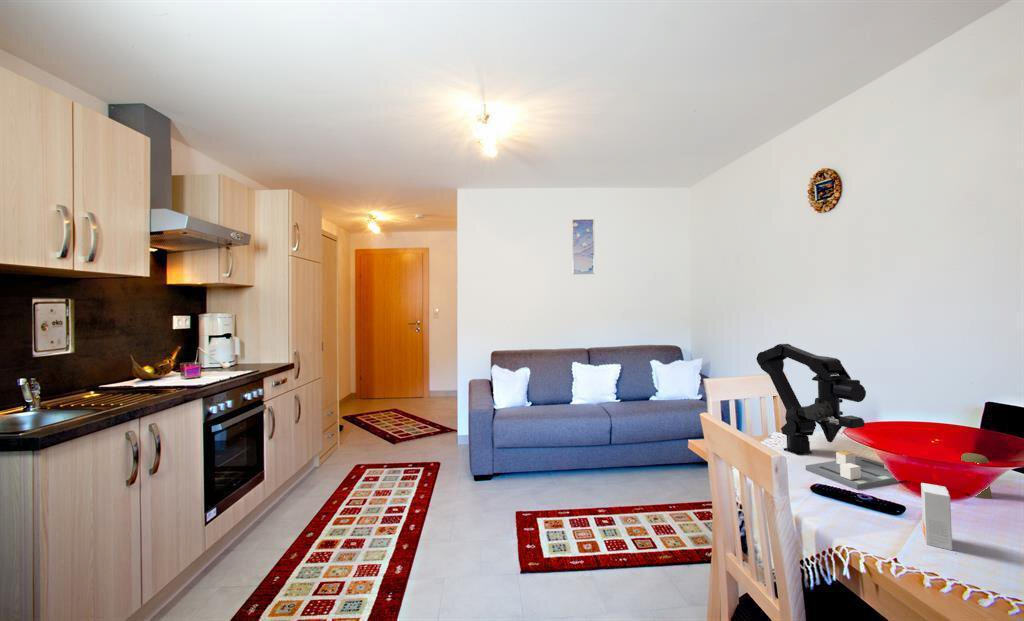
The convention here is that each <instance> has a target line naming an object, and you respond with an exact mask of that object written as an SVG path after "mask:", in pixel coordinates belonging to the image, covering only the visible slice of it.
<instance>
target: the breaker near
mask: <svg viewBox="0 0 1024 621" xmlns="http://www.w3.org/2000/svg"><path fill="white" fill-rule="evenodd" d="M840 476H841V477H844V478H847V479H850V480H853V479H859V478H861V468H860V466H858V465H855V464H852V463H847V464H840Z"/></svg>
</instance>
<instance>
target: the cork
mask: <svg viewBox="0 0 1024 621" xmlns="http://www.w3.org/2000/svg"><path fill="white" fill-rule="evenodd" d="M960 458H961V462H962V461H965V462H976V463H989V464H990V461H989V459H988V458H987V457H986V456H985V455H982V454H978V453H974V452H973V453H972V452H965V453H963V454H962V455H961V457H960ZM974 498H977V499H983V500H984V499H986V500H987V499H988V500H989V499H992V498H993V495H992V490H991V486H989V487H988V488H987V489H985V490H984V491H982V492H981V493H980V494H978V495H977V496H975V497H974Z"/></svg>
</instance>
